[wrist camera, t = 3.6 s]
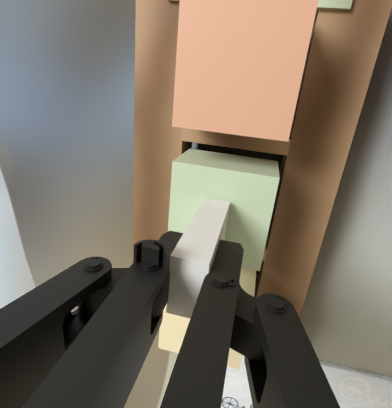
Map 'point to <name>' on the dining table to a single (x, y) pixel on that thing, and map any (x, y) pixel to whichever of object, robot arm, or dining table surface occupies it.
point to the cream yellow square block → (177, 325)
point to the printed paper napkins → (338, 379)
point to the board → (292, 150)
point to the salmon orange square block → (241, 65)
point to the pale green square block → (227, 196)
